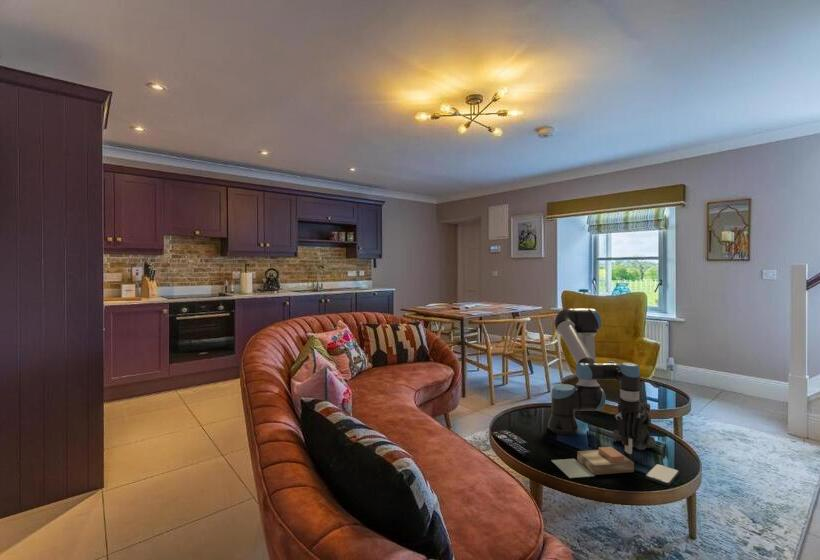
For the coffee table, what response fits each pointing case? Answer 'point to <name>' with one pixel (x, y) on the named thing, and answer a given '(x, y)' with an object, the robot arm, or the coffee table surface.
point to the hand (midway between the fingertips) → (628, 452)
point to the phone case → (662, 474)
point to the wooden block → (603, 463)
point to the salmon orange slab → (611, 454)
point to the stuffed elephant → (643, 436)
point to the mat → (572, 468)
